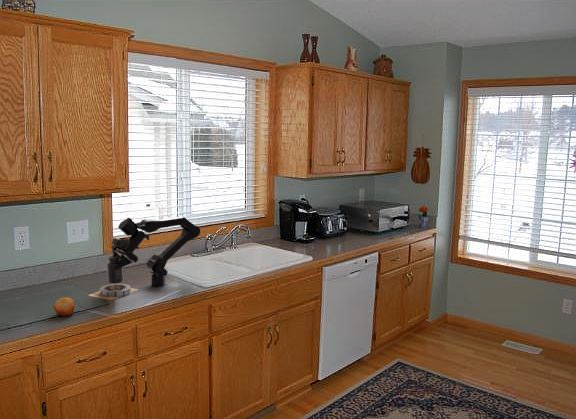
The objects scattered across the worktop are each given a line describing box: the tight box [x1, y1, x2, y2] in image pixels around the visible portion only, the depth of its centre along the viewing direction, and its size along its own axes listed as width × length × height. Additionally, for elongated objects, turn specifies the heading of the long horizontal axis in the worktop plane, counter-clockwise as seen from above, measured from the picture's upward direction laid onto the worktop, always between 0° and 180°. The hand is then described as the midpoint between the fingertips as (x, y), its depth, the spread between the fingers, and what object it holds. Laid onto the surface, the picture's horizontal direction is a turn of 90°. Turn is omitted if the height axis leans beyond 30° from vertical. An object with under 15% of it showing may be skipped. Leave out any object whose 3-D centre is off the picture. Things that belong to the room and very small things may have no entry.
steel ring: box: [99, 283, 132, 298], centre depth 238 cm, size 14×14×2 cm
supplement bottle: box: [106, 255, 124, 284], centre depth 237 cm, size 7×7×12 cm
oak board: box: [87, 287, 139, 301], centre depth 239 cm, size 18×14×1 cm
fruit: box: [52, 296, 76, 317], centre depth 211 cm, size 8×8×8 cm
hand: (112, 267), depth 236 cm, fingers closed on supplement bottle, 7 cm apart
